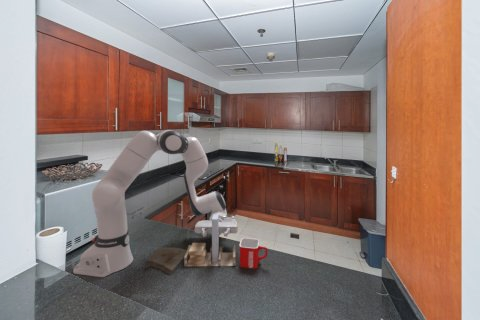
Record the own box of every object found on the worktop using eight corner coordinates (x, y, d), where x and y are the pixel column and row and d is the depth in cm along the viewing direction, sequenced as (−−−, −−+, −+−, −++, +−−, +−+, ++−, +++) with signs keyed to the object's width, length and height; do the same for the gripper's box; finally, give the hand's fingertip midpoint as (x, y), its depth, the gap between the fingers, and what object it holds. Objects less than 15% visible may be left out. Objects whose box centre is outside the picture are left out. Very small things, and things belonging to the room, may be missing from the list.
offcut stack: (188, 265, 89) (187, 252, 88) (192, 254, 97) (191, 242, 97) (205, 265, 89) (204, 252, 89) (207, 254, 98) (207, 242, 97)
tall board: (212, 262, 91) (211, 219, 89) (213, 255, 97) (213, 214, 94) (217, 262, 91) (217, 219, 89) (218, 255, 97) (218, 214, 94)
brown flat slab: (172, 279, 83) (172, 269, 83) (139, 274, 86) (139, 265, 85) (190, 255, 99) (189, 247, 99) (162, 252, 102) (162, 244, 102)
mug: (238, 270, 89) (238, 246, 87) (241, 258, 97) (241, 237, 95) (266, 273, 86) (267, 249, 85) (267, 261, 95) (267, 239, 93)
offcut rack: (184, 269, 89) (184, 257, 88) (189, 256, 99) (189, 245, 98) (235, 268, 89) (235, 257, 89) (235, 255, 99) (235, 244, 99)
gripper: (197, 216, 105) (191, 228, 91) (237, 216, 105) (237, 228, 91) (197, 227, 105) (191, 241, 92) (237, 227, 106) (237, 241, 92)
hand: (215, 234), depth 92 cm, fingers open, 8 cm apart
